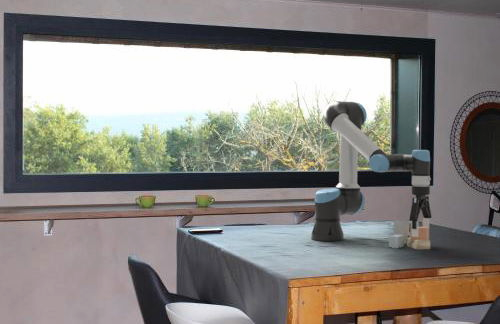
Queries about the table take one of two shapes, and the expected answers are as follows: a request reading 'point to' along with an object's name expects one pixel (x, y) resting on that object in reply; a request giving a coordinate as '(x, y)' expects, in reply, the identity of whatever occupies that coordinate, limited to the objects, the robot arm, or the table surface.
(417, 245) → the maple block
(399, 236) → the slate block
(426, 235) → the terracotta block
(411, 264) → the table surface
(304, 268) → the table surface
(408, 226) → the cup
